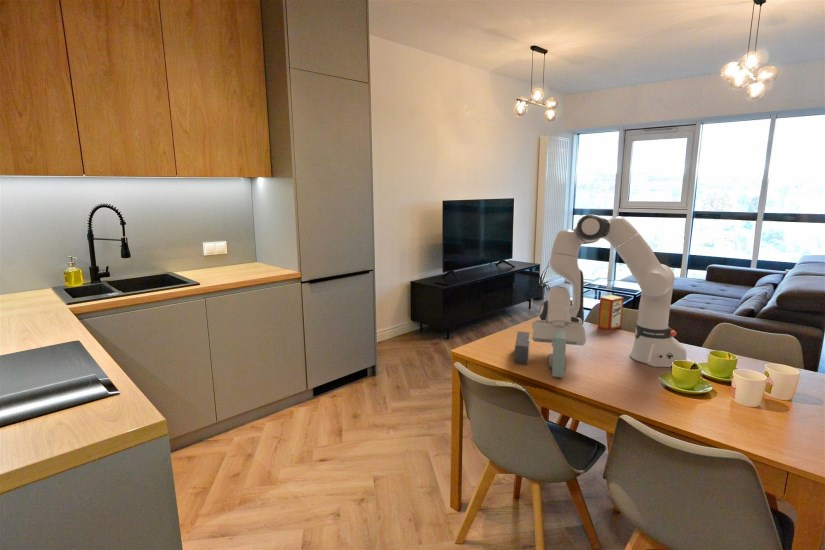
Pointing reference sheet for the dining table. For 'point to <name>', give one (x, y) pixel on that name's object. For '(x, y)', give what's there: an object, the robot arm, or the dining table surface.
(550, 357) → the rail
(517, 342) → the block
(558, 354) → the block
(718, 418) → the dining table surface
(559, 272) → the robot arm
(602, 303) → the baking soda box
